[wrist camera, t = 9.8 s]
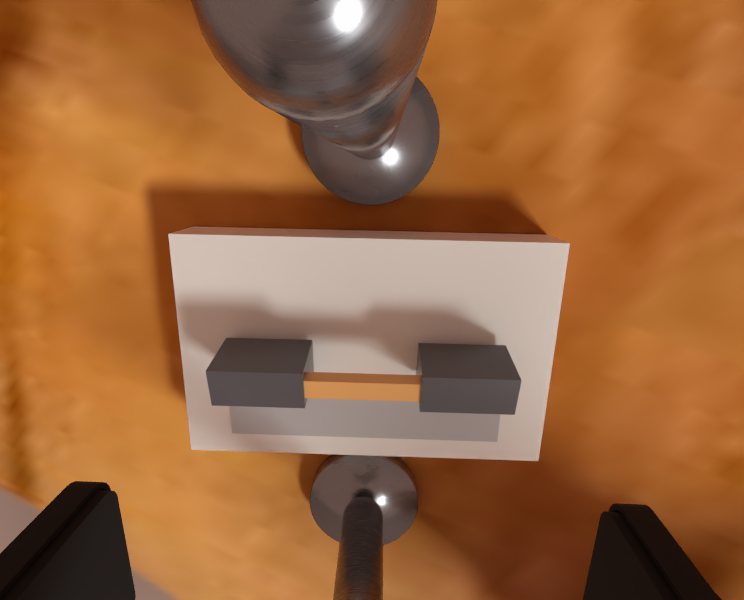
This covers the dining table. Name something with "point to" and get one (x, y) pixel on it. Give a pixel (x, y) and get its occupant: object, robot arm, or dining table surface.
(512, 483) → the dining table surface
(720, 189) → the dining table surface
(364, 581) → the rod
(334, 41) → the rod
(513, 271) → the panel
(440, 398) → the square dumbbell
